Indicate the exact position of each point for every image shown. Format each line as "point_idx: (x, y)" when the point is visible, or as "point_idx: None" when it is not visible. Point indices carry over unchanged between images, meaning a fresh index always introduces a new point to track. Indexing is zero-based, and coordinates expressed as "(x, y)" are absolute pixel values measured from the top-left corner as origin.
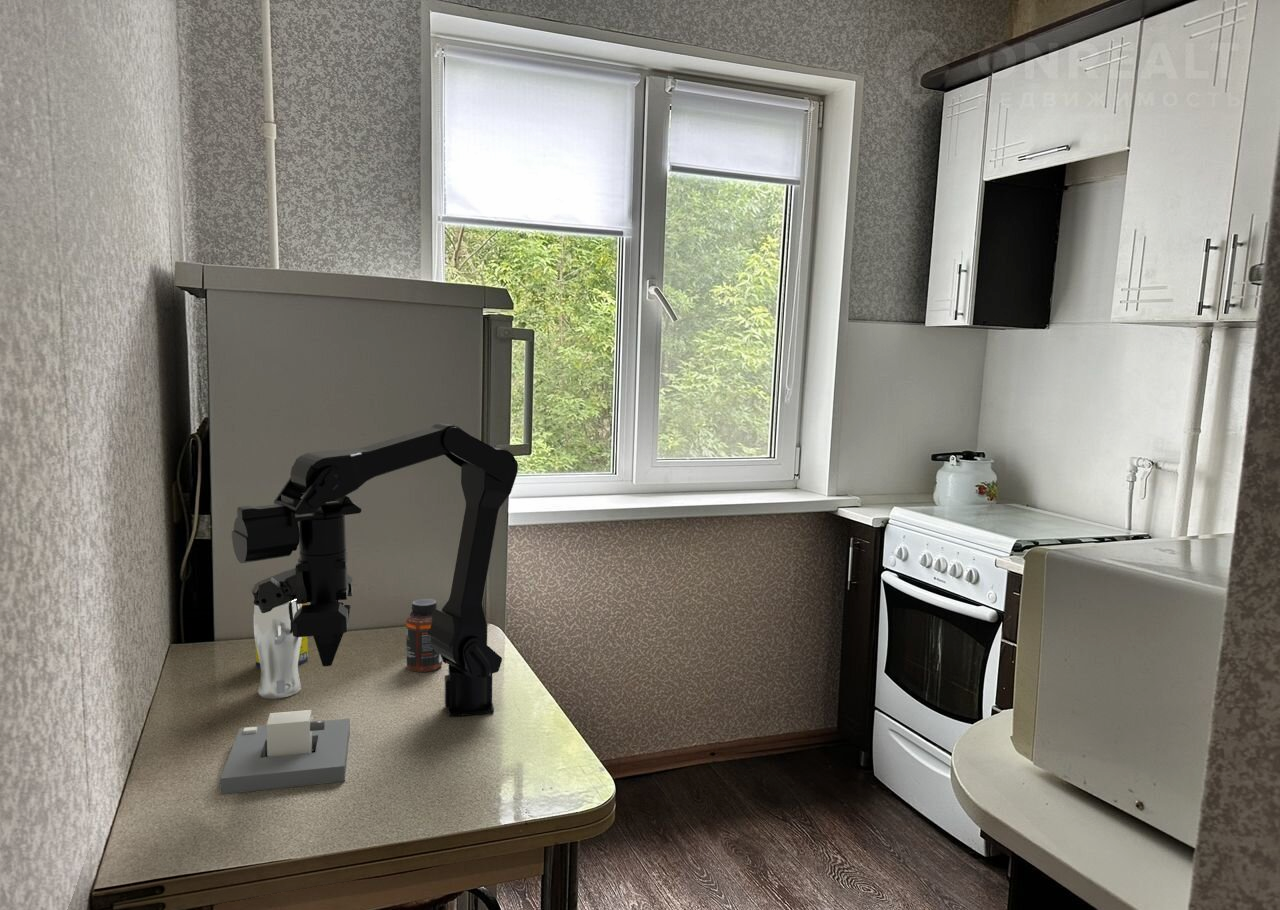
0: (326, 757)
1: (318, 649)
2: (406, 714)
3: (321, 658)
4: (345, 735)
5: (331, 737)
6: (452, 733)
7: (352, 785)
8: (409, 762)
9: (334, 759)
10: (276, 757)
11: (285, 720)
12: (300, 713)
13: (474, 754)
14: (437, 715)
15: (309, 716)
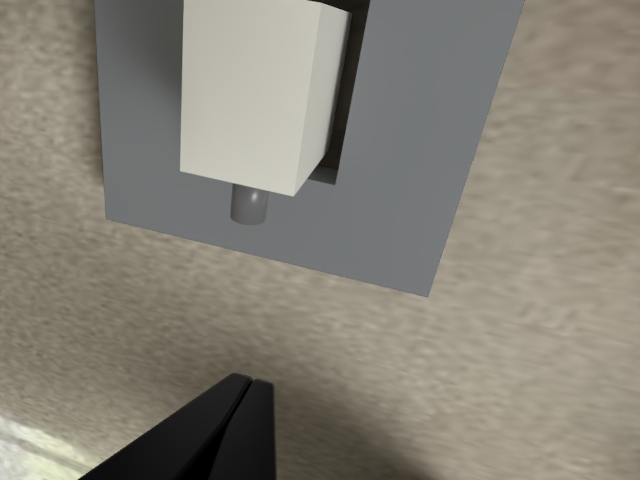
0: (166, 183)
1: (112, 461)
2: (470, 422)
3: (184, 408)
4: (298, 259)
5: (299, 220)
6: (305, 459)
7: None
8: (191, 349)
9: (147, 202)
10: None
11: (209, 74)
12: (269, 147)
13: None
14: (422, 471)
15: (225, 179)
